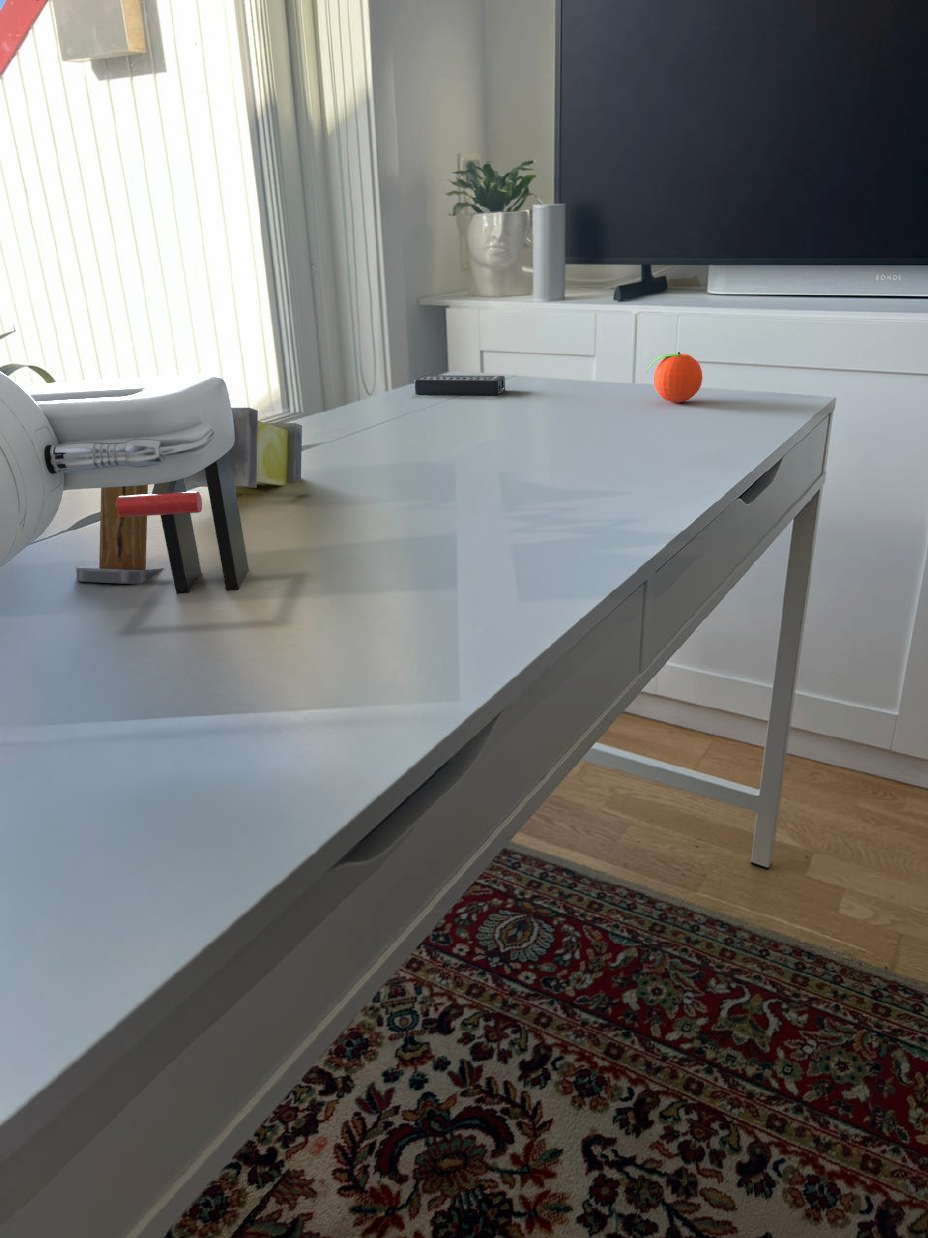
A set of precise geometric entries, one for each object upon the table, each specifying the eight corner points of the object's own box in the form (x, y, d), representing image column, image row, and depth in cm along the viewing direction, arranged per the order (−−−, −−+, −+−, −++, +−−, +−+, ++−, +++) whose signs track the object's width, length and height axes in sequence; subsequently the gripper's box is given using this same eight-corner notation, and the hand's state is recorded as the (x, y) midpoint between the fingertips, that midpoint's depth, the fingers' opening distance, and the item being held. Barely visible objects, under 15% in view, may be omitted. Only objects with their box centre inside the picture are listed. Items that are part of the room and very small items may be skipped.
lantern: (237, 575, 106) (62, 580, 77) (239, 425, 105) (62, 373, 76) (298, 577, 104) (143, 584, 75) (302, 425, 103) (145, 372, 74)
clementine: (649, 408, 132) (650, 357, 129) (642, 399, 138) (643, 350, 135) (705, 405, 132) (708, 354, 129) (696, 396, 138) (698, 347, 135)
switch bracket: (278, 617, 72) (244, 399, 65) (124, 626, 72) (74, 409, 65) (297, 570, 81) (270, 374, 74) (161, 578, 81) (120, 384, 74)
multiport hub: (424, 388, 156) (423, 374, 155) (506, 389, 151) (505, 375, 150) (414, 394, 152) (413, 379, 151) (497, 395, 147) (496, 380, 146)
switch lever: (202, 521, 64) (193, 495, 62) (123, 526, 64) (111, 500, 62) (225, 414, 72) (217, 388, 70) (155, 418, 72) (145, 393, 70)
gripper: (181, 372, 36) (251, 328, 48) (-342, 405, 36) (-137, 352, 49) (209, 527, 38) (268, 447, 51) (-279, 557, 39) (-100, 470, 51)
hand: (67, 401), depth 50 cm, fingers open, 3 cm apart
